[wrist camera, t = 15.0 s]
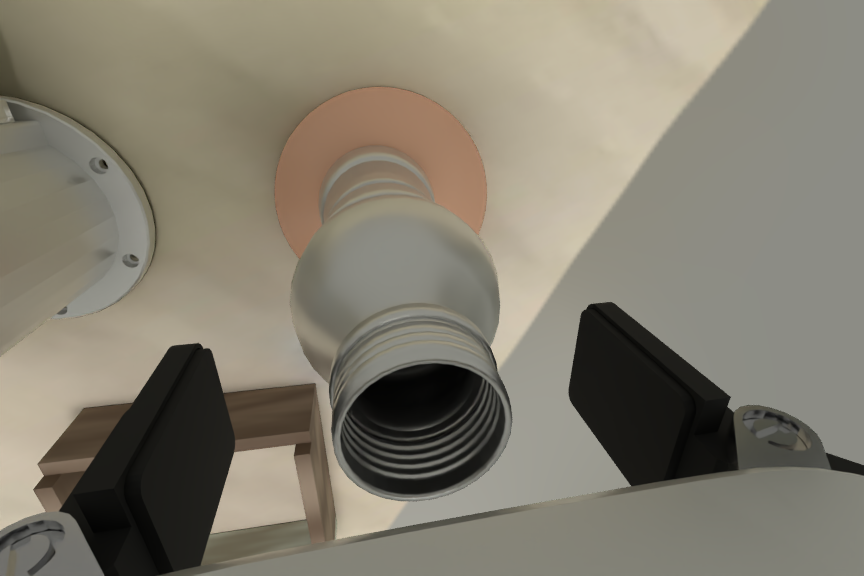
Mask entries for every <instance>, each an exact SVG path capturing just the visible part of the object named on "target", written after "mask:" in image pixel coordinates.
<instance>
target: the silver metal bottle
mask: <svg viewBox="0 0 864 576" xmlns="http://www.w3.org/2000/svg"><path fill="white" fill-rule="evenodd" d="M318 205H319V215H320V220H321V224H322V226H321V227H320V228H319V229H318V231H317V232H316V233H315V234H314V235H313V236H312V238H311V240H310V242H309V243H308V245H307V247H306V249H305V250H304V252H303V254H302V256H301V258H300V260H299V262H298V264H297V267H296V270H295V273H294V277H293V280H292V284H291V296H290V306H291V313H292V321H293V324H294V327H295V330H296V333H297V336H298V339H299V341H300V344H301V347H302V349H303V352H304V354H305V356H306V357H307V359H308V360H309V362H310V364H311V365H312V367H313V368H314V369H315V370H316V371H317V372H318V374H319V375H320V376H321V377H322V378H323V379H324V380H325V381H326V382H328V383H329V396H330V405H331V408H332V410H333V411H332V427H331V432H332V441H333V446H334V453H335V455H336V458H337V460H338V463H339V466H340V467H341V468H342V470H343V471H344V473H345V474H346V475H347V477H348V478H349V479H351V480H352V481H353V482H354V483H355V484H356V485H357V486H359V487H360V488H362V489H364V490H366V491H367V492H369V493H371V494H374V495H376V496H379V497H382V498H385V499H391V500H397V501H423V500H430V499H435V498H439V497H443V496H446V495H449V494H451V493H454V492H456V491H459V490H461V489H463V488H465V487H467V486H468V485H470V484H471V483H473V482H475V481H476V480H478V479H479V478H480V477H481V476H482V475H484V474H485V473H486V472H487V471H488V470H489V469H490V468H491V467H492V466H493V465H494V464H495V462H496V461H497V460H498V459H499V457H500V456H501V454H502V452H503V451H504V449H505V447H506V444H507V442H508V439H509V436H510V433H511V426H512V412H511V405H510V401H509V397H508V394H507V391H506V389H505V386H504V384H503V382H502V380H501V378H500V376H499V374H498V372H497V364H496V361H495V358H494V355H493V353H492V350H491V348H490V346H491V344H492V342H493V340H494V337H495V333H496V330H497V327H498V324H499V313H500V298H499V287H498V278H497V272H496V269H495V266H494V263H493V260H492V257H491V255H490V253H489V251H488V250H487V248H486V246H485V245H484V243H483V241H482V239H481V238H480V237H479V236H478V235H477V234H476V233H475V232H474V231H473V230H472V228H471V227H470V226H469V225H468V224H467V223H465V222H464V221H463V220H462V219H461V218H459V217H458V216H457V215H455V214H454V213H452V212H451V211H449V210H448V209H446V208H445V207H444V206H441V205H439V204H437V203H435V198H434V193H433V189H432V186H431V184H430V181H429V179H428V177H427V175H426V174H425V172H424V171H423V169H422V168H421V167H420V166H419V165H418V163H417V162H416V161H415V160H414V159H412V158H411V157H409V156H408V155H407V154H405V153H403V152H401V151H399V150H397V149H395V148H391V147H386V146H382V145H369V146H364V147H360V148H356V149H354V150H352V151H350V152H348V153H346V154H345V155H343V156H342V157H340V158H339V159H338V160H337V161H336V162H335V163H334V164H333V165H332V166H331V168H330V169H329V170H328V172H327V174H326V175H325V177H324V179H323V182H322V185H321V188H320V191H319V201H318Z"/></svg>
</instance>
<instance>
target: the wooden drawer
mask: <svg viewBox="0 0 864 576" xmlns="http://www.w3.org/2000/svg"><path fill="white" fill-rule="evenodd" d="M224 398H225V402H226V405H227V409H228V413H229V416H230V420H231V424H232V427H233V431H234V435H235V450H234V452H238V451H246V450H254V449H262V448H270V447H278V446H286V445H294V444H296V446H295V452H294V459H295V464H296V469H297V474H298V479H299V484H300V489H301V494H302V499H303V504H304V509H305V514H306V519H307V520H303V521H296V522H290V523H283V524H277V525H270V526H263V527H257V528H250V529H244V530H237V531H230V532H224V533H217V534H211V535H209V539H208V542H207V545H206V549H205V552H204V556H203V559H202V562H201V566H203V565H208V564H213V563H218V562H223V561H228V560H233V559H238V558H243V557H248V556H253V555H257V554H262V553H267V552H272V551H277V550H283V549H288V548H293V547H299V546H304V545H309V544H315V543H320V542H326V541H331V540H336V529H337V521H336V515H335V508H334V502H333V495H332V489H331V482H330V476H329V470H328V463H327V457H326V450H325V444H324V437H323V431H322V424H321V418H320V411H319V405H318V398H317V392H316V385H315V384H308V385H299V386H289V387H280V388H271V389H261V390H252V391H242V392H233V393H224ZM132 404H133V403H130V404H121V405H111V406H102V407H92V408H84V409H83V410H82V411H81V413H80V414H79V415H78V416H77V417H76V419H75V420H74V421H73V422H72V423H71V425H70V426H69V427H68V428H67V429H66V431H65V432H64V433H63V434H62V435H61V437H60V438H59V439H58V440H57V441H56V443H55V444H54V445H53V446H52V447H51V449H50V450H49V451H48V452H47V453H46V455H45V456H44V457H43V458H42V459H41V461H40V462H39V463H38V466H39V468H40V470H41V471H42V473H43V475H44V477H43V478H42V479H41V480H40V482H39V483H38V484H37V485H36V487H35V488H34V489H33V490H34V492H35V494H36V495H37V497H38V499H39V501H40V502H41V504H42V506H43V507H44V509H45V511H46V512H56V511H59V510H60V508H61V507H62V505H63V504H64V502H65V501H66V499H67V498H68V496H69V495H70V493H71V492H72V490H73V489H74V487H75V486H76V484H77V483H78V481H79V480H80V478H81V477H82V475H83V474H84V472H85V471H86V469H87V468H88V466H89V465H90V463H91V462H92V460H93V459H94V457H95V456H96V454H97V453H98V451H99V450H100V448H101V447H102V445H103V444H104V442H105V441H106V439H107V438H108V436H109V435H110V433H111V432H112V430H113V429H114V427H115V426H116V424H117V423H118V421H119V420H120V418H121V417H122V415H123V414H124V413H125V412H126V411H127V410H128V409H130V407H131V406H132Z"/></svg>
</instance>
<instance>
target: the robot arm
mask: <svg viewBox="0 0 864 576" xmlns="http://www.w3.org/2000/svg"><path fill="white" fill-rule="evenodd" d="M103 160H104V161H105V162H106V163H107V165H108V167H106V166H104V164H103ZM154 249H155V226H154V220H153V215H152V210H151V208H150V205H149V203H148V200H147V198H146V195H145V193H144V190H143V189H142V187H141V185H140V184H139V182H138V181H137V179H136V177H135V176H134V174H133V173H132V171H131V169H130V168H129V167H128V166H127V165H126V164H125V163H124V161H123V160H122V159H121V158H120V157H119V156H118V155H117V153H116V152H115V151H114V150H113V149H112V148H110V147H109V146H108V145H107V144H106V143H105V142H103V141H102V140H101V139H100V138H99V137H98V136H96V135H95V134H94V133H93V132H91V131H90V130H88V129H86V128H85V127H83V126H82V125H80V124H79V123H77V122H76V121H74V120H72V119H71V118H69V117H67V116H65V115H63V114H60V113H58V112H56V111H54V110H52V109H49V108H47V107H45V106H43V105H39V104H36V103H32V102H29V101H25V100H22V99H18V98H15V97H7V96H0V356H2V355H3V354H4V353H6V352H7V351H8V350H10V349H11V348H12V347H13V346H15V345H16V344H17V343H19V342H20V341H21V340H23V339H24V338H25V337H26V336H28V335H29V334H30V333H32V332H33V331H34V330H36V329H37V328H38V327H39V326H41V325H42V324H43V323H45V322H46V321H47V320H49V319H67V318H75V317H82V316H85V315H89V314H92V313H96V312H99V311H101V310H103V309H105V308H107V307H109V306H111V305H113V304H115V303H117V302H118V301H119V300H120V299H122V298H123V297H124V296H125V295H127V294H128V293H129V292H130V291H131V290H132V289H133V288H134V287H135V286H136V285H137V284H138V283H139V282H140V281H141V280H142V278H143V276H144V274H145V273H146V271H147V269H148V267H149V266H150V263H151V259H152V256H153V252H154ZM134 256H136V257H137V258H138V259H137V258H135V257H134ZM569 397H570V401H571V403H572V404H573V406H574V407H575V409H576V410H577V411H578V413H579V414H580V416H581V417H582V418H583V420H584V421H585V423H586V424H587V425H588V427H589V428H590V429H591V431H592V432H593V434H594V435H595V436H596V438H597V439H598V441H599V442H600V443H601V445H602V446H603V448H604V449H605V450H606V451H607V453H608V454H609V456H610V457H611V459H612V460H613V461H614V463H615V464H616V466H617V467H618V468H619V470H620V471H621V473H622V474H623V475H624V477H625V478H626V479H627V481H628V482H629V484H630V485H631V487H626V488H620V489H614V490H608V491H603V492H597V493H592V494H586V495H580V496H574V497H569V498H562V499H556V500H551V501H545V502H540V503H534V504H528V505H524V506H517V507H512V508H506V509H500V510H495V511H489V512H484V513H478V514H473V515H467V516H462V517H456V518H450V519H445V520H440V521H434V522H428V523H423V524H417V525H413V526H406V527H402V528H396V529H390V530H385V531H379V532H374V533H369V534H363V535H358V536H353V537H347V538H342V539H336V540H331V541H326V542H320V543H315V544H309V545H304V546H299V547H293V548H288V549H283V550H277V551H272V552H267V553H262V554H257V555H253V556H248V557H243V558H238V559H233V560H228V561H223V562H218V563H213V564H208V565H203V566H201V562H202V559H203V556H204V552H205V549H206V545H207V542H208V539H209V535H210V532H211V528H212V525H213V522H214V518H215V515H216V512H217V508H218V505H219V501H220V498H221V495H222V491H223V488H224V485H225V481H226V478H227V474H228V471H229V468H230V464H231V461H232V457H233V454H234V450H235V435H234V431H233V427H232V424H231V420H230V416H229V413H228V409H227V405H226V402H225V398H224V394H223V391H222V387H221V383H220V380H219V376H218V372H217V369H216V365H215V361H214V358H213V354H212V351H211V350H210V349H209V348H207V349H203V347H202V345H201V344H199V343H196V344H186V345H176V346H171V347H170V348H169V349H168V351H167V352H166V354H165V355H164V357H163V359H162V360H161V362H160V363H159V365H158V366H157V368H156V369H155V371H154V372H153V374H152V375H151V377H150V378H149V380H148V381H147V383H146V384H145V386H144V387H143V389H142V390H141V392H140V393H139V395H138V396H137V398H136V399H135V401H134V402H133V404H132V406H131V407H130V409H128V410H127V411H126V412H125V413H124V414H123V415H122V417H121V418H120V420H119V421H118V423H117V424H116V426H115V427H114V429H113V430H112V432H111V433H110V435H109V436H108V438H107V439H106V441H105V442H104V444H103V445H102V447H101V448H100V450H99V451H98V453H97V454H96V456H95V457H94V459H93V460H92V462H91V463H90V465H89V466H88V468H87V469H86V471H85V472H84V474H83V475H82V477H81V478H80V480H79V481H78V483H77V484H76V486H75V487H74V489H73V490H72V492H71V493H70V495H69V496H68V498H67V499H66V501H65V502H64V504H63V505H62V507H61V508H60V510H59V511H56V512H45V513H40V514H37V515H34V516H30V517H27V518H24V519H22V520H20V521H18V522H16V523H14V524H11V525H9V526H7V527H6V528H4V529H2V530H1V531H0V576H864V465H861V464H858V463H855V462H852V461H849V460H846V459H843V458H840V457H837V456H834V455H831V454H828V453H825V450H824V447H823V445H822V442H821V440H820V438H819V437H818V435H817V434H816V433H815V432H814V431H813V430H812V429H811V428H810V427H809V426H807V425H806V424H805V423H803V422H802V421H800V420H799V419H797V418H795V417H793V416H791V415H789V414H787V413H785V412H782V411H779V410H777V409H773V408H770V407H765V406H760V405H746V406H742V407H739V408H738V409H737V410H735V412H733V411H732V410H730V409H729V408H728V407H727V406H728V403H729V400H730V398H731V397H730V396H729V395H727V394H726V393H725V392H724V391H723V390H721V389H720V388H719V387H718V386H716V385H715V384H714V383H713V382H711V381H710V380H709V379H708V378H706V377H705V376H704V375H703V374H701V373H700V372H699V371H698V370H696V369H695V368H694V367H693V366H691V365H690V364H689V363H688V362H686V361H685V360H684V359H682V358H681V357H680V356H679V355H678V354H676V353H675V352H674V351H673V350H671V349H670V348H669V347H668V346H666V345H665V344H664V343H663V342H661V341H660V340H659V339H658V338H656V337H655V336H654V335H653V334H652V333H650V332H649V331H648V330H646V329H645V328H644V327H643V326H641V325H640V324H639V323H638V322H637V321H635V320H634V319H633V318H632V317H630V316H629V315H628V314H627V313H625V312H624V311H623V310H622V309H620V308H619V307H618V306H617V305H615V304H614V303H612V302H606V303H596V304H590V305H589V306H588V307H587V309H586V310H584V311H583V312H582V313H581V318H580V324H579V330H578V336H577V342H576V348H575V354H574V360H573V366H572V372H571V379H570V384H569Z"/></svg>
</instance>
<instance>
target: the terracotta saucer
mask: <svg viewBox="0 0 864 576" xmlns="http://www.w3.org/2000/svg"><path fill="white" fill-rule="evenodd" d="M369 145H382V146H386V147H391V148H395V149H397V150H399V151H401V152H403V153H405V154H407V155H408V156H409V157H411V158H412V159H414V160H415V161H416V162H417V163H418V165H419V166H420V167H421V168H422V169H423V171H424V172H425V174H426V175H427V177H428V179H429V181H430V184H431V186H432V189H433V193H434V198H435V203H437V204H439V205H441V206H444V207H445V208H446V209H448V210H449V211H451V212H452V213H454V214H455V215H457V216H458V217H459V218H461V219H462V220H463V221H464V222H465V223H467V224H468V225H469V226H470V227H471V228H472V230H473V231H474V232H475V233H476V234H477V235H478V234H479V231H480V228H481V226H482V223H483V219H484V214H485V209H486V201H487V184H486V177H485V171H484V167H483V164H482V160H481V157H480V155H479V153H478V150H477V148H476V145H475V144H474V142H473V140H472V139H471V137H470V135H469V134H468V132H467V131H466V130H465V129H464V127H463V126H462V125H461V124H460V122H459V121H458V120H457V119H456V118H455V117H454V116H453V115H451V114H450V113H449V112H448V111H447V110H445V109H444V108H443V107H441V106H440V105H439V104H437V103H435V102H434V101H432V100H430V99H428V98H426V97H424V96H422V95H419V94H416V93H414V92H411V91H407V90H402V89H398V88H390V87H368V88H360V89H356V90H352V91H348V92H345V93H343V94H340V95H337V96H335V97H333V98H331V99H330V100H328V101H326V102H324V103H323V104H321V105H319V106H318V107H317V108H316V109H314V110H313V111H312V112H311V113H309V114H308V115H307V116H306V117H305V118H304V119H303V120H302V121H301V123H300V124H299V125H298V126H297V127H296V129H295V130H294V132H293V133H292V134H291V136H290V137H289V139H288V141H287V143H286V145H285V147H284V149H283V151H282V154H281V157H280V160H279V163H278V166H277V172H276V177H275V204H276V211H277V215H278V219H279V223H280V225H281V228H282V231H283V233H284V236H285V237H286V239H287V241H288V243H289V245H290V247H291V248H292V249H293V251H294V252H295V254H296V255H297V256H298V258H299V259H300V258H301V256H302V254H303V252H304V250H305V249H306V247H307V245H308V243H309V242H310V240H311V238H312V236H313V235H314V234H315V233H316V232H317V231H318V229H319V228H320V227H321V226H322V224H321V220H320V215H319V205H318V201H319V191H320V188H321V185H322V182H323V179H324V177H325V175H326V174H327V172H328V170H329V169H330V168H331V166H332V165H333V164H334V163H335V162H336V161H337V160H338V159H339V158H340V157H342V156H343V155H345V154H346V153H348V152H350V151H352V150H354V149H356V148H360V147H364V146H369Z"/></svg>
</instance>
